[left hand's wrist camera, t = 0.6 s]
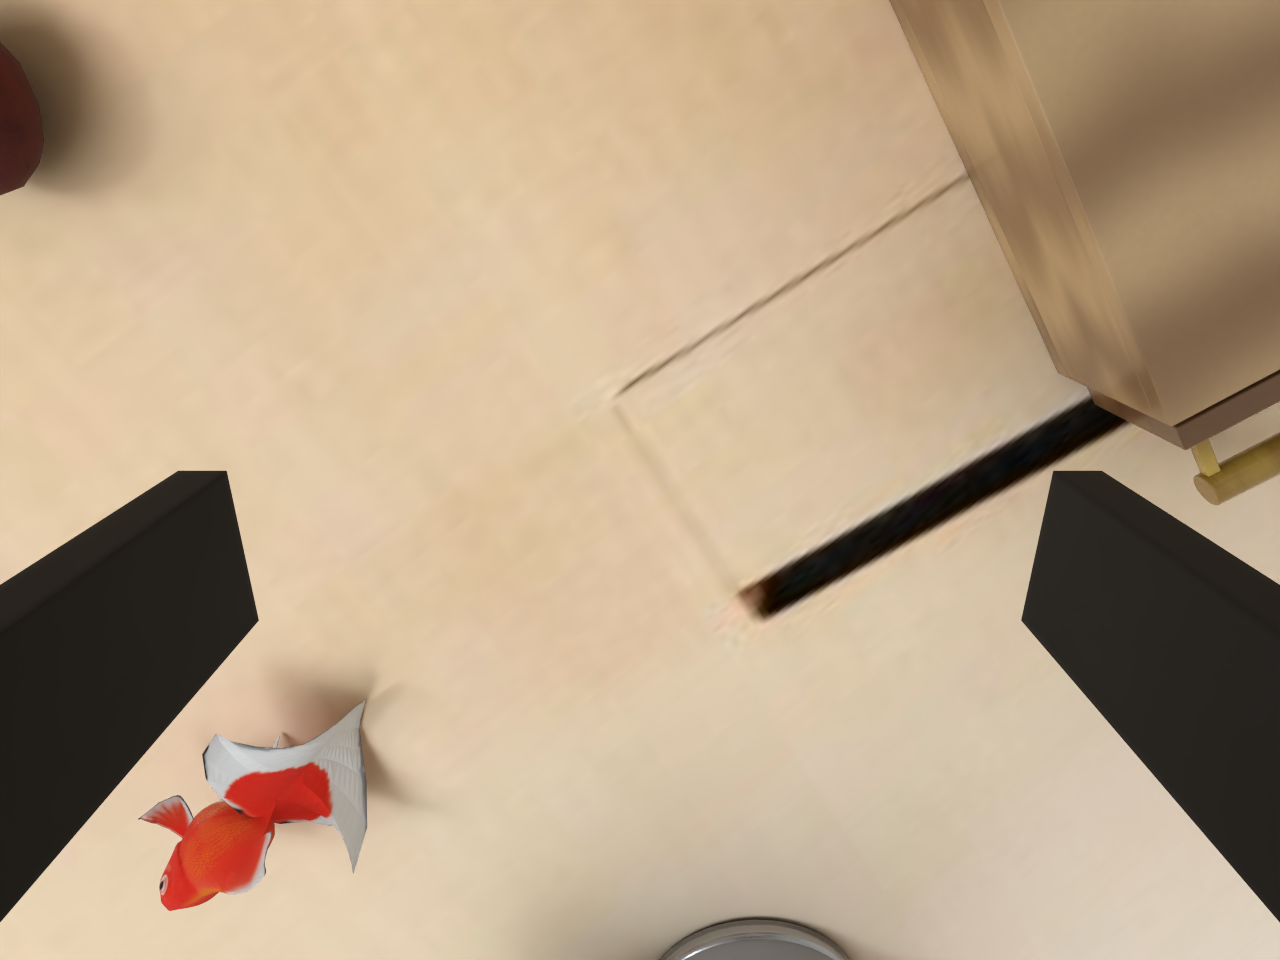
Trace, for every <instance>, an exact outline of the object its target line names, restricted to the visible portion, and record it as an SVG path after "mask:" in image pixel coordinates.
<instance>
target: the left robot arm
mask: <svg viewBox="0 0 1280 960" xmlns="http://www.w3.org/2000/svg"><path fill="white" fill-rule="evenodd" d="M258 621H259V620H258V615H257V610H256V606H255V601H254V596H253V592H252V587H251V582H250V578H249V573H248V568H247V564H246V559H245V554H244V550H243V545H242V540H241V536H240V531H239V527H238V522H237V517H236V513H235V508H234V503H233V499H232V494H231V489H230V485H229V480H228V475H227V471H177V472H176V473H174V474H173V475H171V476H170V477H168V478H166V479H165V480H163V481H162V482H160V483H159V484H157V485H156V486H154V487H152V488H151V489H149V490H148V491H146V492H145V493H143V494H142V495H140V496H138V497H137V498H135V499H134V500H132V501H131V502H129V503H127V504H126V505H124V506H123V507H121V508H120V509H118V510H117V511H115V512H113V513H112V514H110V515H109V516H107V517H106V518H104V519H102V520H101V521H99V522H98V523H96V524H95V525H93V526H92V527H90V528H88V529H87V530H85V531H84V532H82V533H81V534H79V535H77V536H76V537H74V538H73V539H71V540H70V541H68V542H67V543H65V544H63V545H62V546H60V547H59V548H57V549H56V550H54V551H53V552H51V553H49V554H48V555H46V556H45V557H43V558H42V559H40V560H38V561H37V562H35V563H34V564H32V565H31V566H29V567H28V568H26V569H24V570H23V571H21V572H20V573H18V574H17V575H15V576H13V577H12V578H10V579H9V580H7V581H6V582H4V583H3V584H1V585H0V922H1V921H2V920H3V918H4V917H5V916H6V915H7V914H8V913H9V911H10V910H11V909H12V908H13V907H14V906H15V904H16V903H17V902H18V901H19V900H20V899H21V897H22V896H23V895H24V894H25V893H26V892H27V890H28V889H29V888H30V887H31V886H32V885H33V883H34V882H35V881H36V880H37V879H38V878H39V876H40V875H41V874H42V873H43V872H44V871H45V869H46V868H47V867H48V866H49V865H50V863H51V862H52V861H53V860H54V859H55V858H56V856H57V855H58V854H59V853H60V852H61V851H62V849H63V848H64V847H65V846H66V845H67V844H68V842H69V841H70V840H71V839H72V838H73V837H74V835H75V834H76V833H77V832H78V831H79V830H80V828H81V827H82V826H83V825H84V824H85V823H86V821H87V820H88V819H89V818H90V817H91V816H92V814H93V813H94V812H95V811H96V810H97V809H98V807H99V806H100V805H101V804H102V803H103V802H104V800H105V799H106V798H107V797H108V796H109V795H110V793H111V792H112V791H113V790H114V789H115V788H116V786H117V785H118V784H119V783H120V782H121V781H122V779H123V778H124V777H125V776H126V775H127V774H128V772H129V771H130V770H131V769H132V768H133V767H134V765H135V764H136V763H137V762H138V761H139V760H140V758H141V757H142V756H143V755H144V754H145V753H146V751H147V750H148V749H149V748H150V747H151V746H152V744H153V743H154V742H155V741H156V740H157V739H158V737H159V736H160V735H161V734H162V733H163V732H164V730H165V729H166V728H167V727H168V726H169V725H170V723H171V722H172V721H173V720H174V719H175V718H176V716H177V715H178V714H179V713H180V712H181V711H182V709H183V708H184V707H185V706H186V705H187V704H188V702H189V701H190V700H191V699H192V698H193V697H194V695H195V694H196V693H197V692H198V691H199V690H200V688H201V687H202V686H203V685H204V684H205V683H206V681H207V680H208V679H209V678H210V677H211V676H212V674H213V673H214V672H215V671H216V670H217V669H218V667H219V666H220V665H221V664H222V663H223V661H224V660H225V659H226V658H227V657H228V656H229V654H230V653H231V652H232V651H233V650H234V649H235V647H236V646H237V645H238V644H239V643H240V642H241V640H242V639H243V638H244V637H245V636H246V635H247V633H248V632H249V631H250V630H251V629H252V628H253V626H254V625H255V624H256V623H257V622H258ZM1021 621H1022V622H1023V623H1024V624H1025V625H1026V626H1027V628H1028V629H1029V630H1030V631H1031V632H1032V633H1033V635H1034V636H1035V637H1036V638H1037V639H1038V640H1039V642H1040V643H1041V644H1042V645H1043V646H1044V647H1045V649H1046V650H1047V651H1048V652H1049V653H1050V654H1051V656H1052V657H1053V658H1054V659H1055V660H1056V661H1057V663H1058V664H1059V665H1060V666H1061V667H1062V669H1063V670H1064V671H1065V672H1066V673H1067V674H1068V676H1069V677H1070V678H1071V679H1072V680H1073V681H1074V683H1075V684H1076V685H1077V686H1078V687H1079V688H1080V690H1081V691H1082V692H1083V693H1084V694H1085V695H1086V697H1087V698H1088V699H1089V700H1090V701H1091V702H1092V704H1093V705H1094V706H1095V707H1096V708H1097V709H1098V711H1099V712H1100V713H1101V714H1102V715H1103V716H1104V718H1105V719H1106V720H1107V721H1108V722H1109V723H1110V725H1111V726H1112V727H1113V728H1114V729H1115V730H1116V732H1117V733H1118V734H1119V735H1120V736H1121V737H1122V739H1123V740H1124V741H1125V742H1126V743H1127V744H1128V746H1129V747H1130V748H1131V749H1132V750H1133V751H1134V753H1135V754H1136V755H1137V756H1138V757H1139V758H1140V760H1141V761H1142V762H1143V763H1144V764H1145V765H1146V767H1147V768H1148V769H1149V770H1150V771H1151V772H1152V774H1153V775H1154V776H1155V777H1156V778H1157V779H1158V781H1159V782H1160V783H1161V784H1162V785H1163V786H1164V788H1165V789H1166V790H1167V791H1168V792H1169V793H1170V795H1171V796H1172V797H1173V798H1174V799H1175V800H1176V802H1177V803H1178V804H1179V805H1180V806H1181V807H1182V809H1183V810H1184V811H1185V812H1186V813H1187V814H1188V816H1189V817H1190V818H1191V819H1192V820H1193V821H1194V823H1195V824H1196V825H1197V826H1198V827H1199V828H1200V830H1201V831H1202V832H1203V833H1204V834H1205V835H1206V837H1207V838H1208V839H1209V840H1210V841H1211V842H1212V844H1213V845H1214V846H1215V847H1216V848H1217V849H1218V851H1219V852H1220V853H1221V854H1222V855H1223V856H1224V858H1225V859H1226V860H1227V861H1228V862H1229V863H1230V865H1231V866H1232V867H1233V868H1234V869H1235V871H1236V872H1237V873H1238V874H1239V875H1240V876H1241V878H1242V879H1243V880H1244V881H1245V882H1246V883H1247V885H1248V886H1249V887H1250V888H1251V889H1252V890H1253V892H1254V893H1255V894H1256V895H1257V896H1258V897H1259V899H1260V900H1261V901H1262V902H1263V903H1264V904H1265V906H1266V907H1267V908H1268V909H1269V910H1270V911H1271V913H1272V914H1273V915H1274V916H1275V917H1276V918H1277V920H1278V921H1279V922H1280V585H1279V584H1277V583H1276V582H1274V581H1273V580H1271V579H1270V578H1268V577H1267V576H1265V575H1263V574H1262V573H1260V572H1259V571H1257V570H1256V569H1254V568H1252V567H1251V566H1249V565H1248V564H1246V563H1245V562H1243V561H1242V560H1240V559H1238V558H1237V557H1235V556H1234V555H1232V554H1231V553H1229V552H1227V551H1226V550H1224V549H1223V548H1221V547H1220V546H1218V545H1217V544H1215V543H1213V542H1212V541H1210V540H1209V539H1207V538H1206V537H1204V536H1202V535H1201V534H1199V533H1198V532H1196V531H1195V530H1193V529H1192V528H1190V527H1188V526H1187V525H1185V524H1184V523H1182V522H1181V521H1179V520H1178V519H1176V518H1174V517H1173V516H1171V515H1170V514H1168V513H1167V512H1165V511H1163V510H1162V509H1160V508H1159V507H1157V506H1156V505H1154V504H1153V503H1151V502H1149V501H1148V500H1146V499H1145V498H1143V497H1142V496H1140V495H1138V494H1137V493H1135V492H1134V491H1132V490H1131V489H1129V488H1128V487H1126V486H1124V485H1123V484H1121V483H1120V482H1118V481H1117V480H1115V479H1114V478H1112V477H1110V476H1109V475H1107V474H1106V473H1104V472H1103V471H1053V475H1052V480H1051V485H1050V489H1049V494H1048V499H1047V503H1046V508H1045V513H1044V517H1043V522H1042V527H1041V531H1040V536H1039V540H1038V545H1037V550H1036V554H1035V559H1034V564H1033V568H1032V573H1031V578H1030V582H1029V587H1028V592H1027V596H1026V601H1025V606H1024V610H1023V615H1022V620H1021ZM660 960H849V959H848V957H847V956H846V955H845V954H844V952H843V951H842V950H841V949H840V948H839V947H838V946H837V945H835V944H834V943H833V942H832V941H830V940H829V939H827V938H826V937H824V936H823V935H821V934H819V933H817V932H815V931H813V930H810V929H808V928H805V927H802V926H799V925H796V924H791V923H787V922H781V921H774V920H742V921H734V922H728V923H723V924H719V925H716V926H712V927H709V928H707V929H704V930H701V931H699V932H697V933H695V934H692V935H691V936H689V937H687V938H685V939H683V940H682V941H680V942H679V943H677V944H676V945H675V946H674V947H672V948H671V949H670V950H669V951H668V952H667V953H666V954H665V955H664V956H663V957H662V958H661V959H660Z"/></svg>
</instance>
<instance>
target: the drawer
mask: <svg viewBox="0 0 1280 960" xmlns="http://www.w3.org/2000/svg"><path fill="white" fill-rule="evenodd" d="M1087 388H1088V390H1089V392H1090V395H1091V397H1092V399H1093V401H1094V404H1095V405H1097V406H1099V407H1101V408H1103V409H1105V410H1107V411H1109V412H1111V413H1113V414H1115V415H1117V416H1119V417H1121V418H1123V419H1125V420H1127V421H1129V422H1131V423H1133V424H1135V425H1137V426H1139V427H1141V428H1143V429H1145V430H1147V431H1149V432H1151V433H1153V434H1155V435H1157V436H1159V437H1161V438H1162V439H1164V440H1166V441H1168V442H1170V443H1172V444H1174V445H1176V446H1178V447H1180V448H1182V449H1184V450H1187V449H1189V448H1191V450H1192V453H1193V455H1194V458H1195V460H1196V463H1197V465H1198V468H1199V470H1200V472H1201V473H1199V474H1197V475H1196V476H1195V477H1194V484H1195V486H1196V488H1197V490H1198V491H1199V492H1200V494H1201V495H1202V496H1203V497H1204V498H1205V499H1206V500H1207V501H1208V502H1210V503H1211V504H1213V505H1219V504H1221V503H1223V502H1225V501H1227V500H1229V499H1231V498H1233V497H1235V496H1237V495H1239V494H1241V493H1243V492H1245V491H1247V490H1249V489H1251V488H1253V487H1255V486H1257V485H1259V484H1261V483H1263V482H1265V481H1267V480H1269V479H1271V478H1273V477H1275V476H1277V475H1279V474H1280V432H1279V433H1277V434H1275V435H1273V436H1271V437H1269V438H1267V439H1266V440H1264V441H1262V442H1260V443H1258V444H1256V445H1254V446H1252V447H1250V448H1248V449H1246V450H1244V451H1242V452H1240V453H1238V454H1236V455H1234V456H1232V457H1230V458H1229V459H1227V460H1225V461H1223V462H1221V463H1219V464H1218V463H1217V460H1216V457H1215V455H1214V452H1213V450H1212V447H1211V445H1210V442H1209V440H1208V438H1210V437H1212V436H1214V435H1216V434H1218V433H1220V432H1222V431H1224V430H1226V429H1227V428H1229V427H1231V426H1233V425H1235V424H1237V423H1239V422H1241V421H1243V420H1245V419H1247V418H1249V417H1250V416H1252V415H1254V414H1256V413H1258V412H1260V411H1262V410H1264V409H1266V408H1268V407H1270V406H1272V405H1273V404H1275V403H1277V402H1279V401H1280V369H1279V370H1278V371H1276V372H1274V373H1272V374H1270V375H1268V376H1266V377H1264V378H1262V379H1261V380H1259V381H1257V382H1255V383H1253V384H1251V385H1249V386H1247V387H1245V388H1244V389H1242V390H1240V391H1238V392H1236V393H1234V394H1232V395H1230V396H1229V397H1227V398H1225V399H1223V400H1221V401H1219V402H1217V403H1215V404H1213V405H1212V406H1210V407H1208V408H1206V409H1204V410H1202V411H1200V412H1198V413H1196V414H1195V415H1193V416H1191V417H1189V418H1187V419H1185V420H1183V421H1181V422H1179V423H1178V424H1176V425H1174V426H1169V425H1167V424H1165V423H1163V422H1160V421H1158V420H1157V419H1154V418H1152V417H1150V416H1148V415H1146V414H1144V413H1142V412H1140V411H1138V410H1135V409H1133V408H1131V407H1129V406H1127V405H1125V404H1123V403H1121V402H1119V401H1116V400H1114V399H1112V398H1110V397H1108V396H1106V395H1104V394H1102V393H1100V392H1097V391H1095V390H1093V389H1091V388H1089V387H1087Z"/></svg>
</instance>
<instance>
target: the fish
mask: <svg viewBox="0 0 1280 960" xmlns="http://www.w3.org/2000/svg"><path fill="white" fill-rule="evenodd" d="M365 703H366V699H365V700H364V701H363V702H361V703H360V704H358V705H357V706H356V707H355V708H353V709H352V710H351V711H350V712H349V713H348V714H347V715H346V716H344V717H343V718H342V719H341V720H340V721H339V722H338V723H337V724H335V725H334V726H332V727H331V728H329V729H328V730H326V731H325V732H323V733H322V734H320V735H319V736H317V737H315V738H314V739H312V740H310V741H309V742H307V743H306V744H304V745H299V746H293V747H286V748H277V745H278V741H279V738H280V736H278V737H277V740H276V742H275V744H274V746H273V748H268V747H255V746H250V745H245V744H240V743H236V742H231V741H229V740H228V739H226V738H224V737H222V736H220V735H218V734H216V735H215V736H214V738H213V739H212V741H211V742H210V744H209V745H208V747H207V748H206V750H205V751H204V753H203V754H202V755H203V762H204V769H205V776H206V779H207V781H208V782H209V784H210V786H211V787H212V789H213V790H214V791H215V792H216V793H217V794H218V795H219V796H220V797H221V798H222V799H221V801H220V802H217V803H214V804H211V805H209V806H208V807H206V808H205V809H203V810H202V811H201V812H199V813H198V814H197V815H196V816H195V817H194V818H193V816H192V814H191V811H190V809H189V807H188V805H187V804H186V802H185V801H184V799H183V798H182V797H181V796H178V795H177V796H173V797H171V798H168V799H166V800H164V801H162V802H159V803H158V804H157V805H155V806H154V807H153V808H152V809H150V810H149V811H148V812H147V813H146V814H144V815H143V816H142V817H140V818H139V819H142V820H145V821H147V822H150V823H155V824H158V825H160V826H162V827H165V828H168V829H170V830H171V831H173V832H174V833H176V834H177V835H179V836H180V837H182V838H183V839H182V841H180V842H179V843H177V845H176V847H175V849H174V852H173V854H172V856H171V858H170V861H169V863H168V865H167V867H166V869H165V871H164V873H163V875H162V878H161V881H160V894H161V902H162V904H163V905H164V906H165V907H166V908H167V909H168V910H169V911H172V910H177V909H183V908H189V907H193V906H197V905H200V904H202V903H204V902H206V901H208V900H210V899H211V898H213V897H214V896H215V895H216V894H217V893H218V892H224V893H226V894H239V893H244V892H248V891H249V890H251V889H252V888H253V887H255V886H256V885H257V884H258V883H259V881H260V880H261V879H262V878H263V877H264V875H265V874H266V869H265V857H266V853H267V850H268V848H269V846H270V844H271V842H272V840H273V838H274V834H275V825H274V823H279V824H283V823H294V822H305V821H311V822H315V823H319V824H325V825H331V826H334V827H335V828H336V829H337V830H338V832H339V833H340V835H341V837H342V838H343V840H344V842H345V845H346V847H347V850H348V853H349V856H350V860H351V863H352V870H353V873H354V870H355V866H356V863H357V859H358V856H359V853H360V849H361V846H362V843H363V839H364V836H365V832H366V829H367V794H366V776H365V769H364V762H363V755H362V746H361V738H360V729H359V728H360V723H361V719H362V715H363V710H364V705H365Z"/></svg>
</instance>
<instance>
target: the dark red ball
mask: <svg viewBox="0 0 1280 960" xmlns="http://www.w3.org/2000/svg"><path fill="white" fill-rule="evenodd" d="M43 141H44V139H43V132H42V125H41V118H40V112H39V106H38V103H37V100H36V98H35V96H34V94H33V91H32V89H31V87H30V85H29V83H28V80H27V78H26V76H25V74H24V72H23V69H22V67H21V65H20V63H19V62H18V61H17V59H16V58H15V57H14V56H13V55H12V54H11V53H10V52H9V51H8V50H7V49H6V48H5V47H4V45H3V44H2V43H1V42H0V195H2V194H5V193H8V192H10V191H13V190H15V189H18V188H21V187H23V186H24V185H25V184H26V182H27V181H28V179H29V178H30V177H31V175H32V174H33V172H34V171H35V169H36V168H37V166H38V164H39V162H40V157H41V152H42V146H43Z"/></svg>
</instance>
